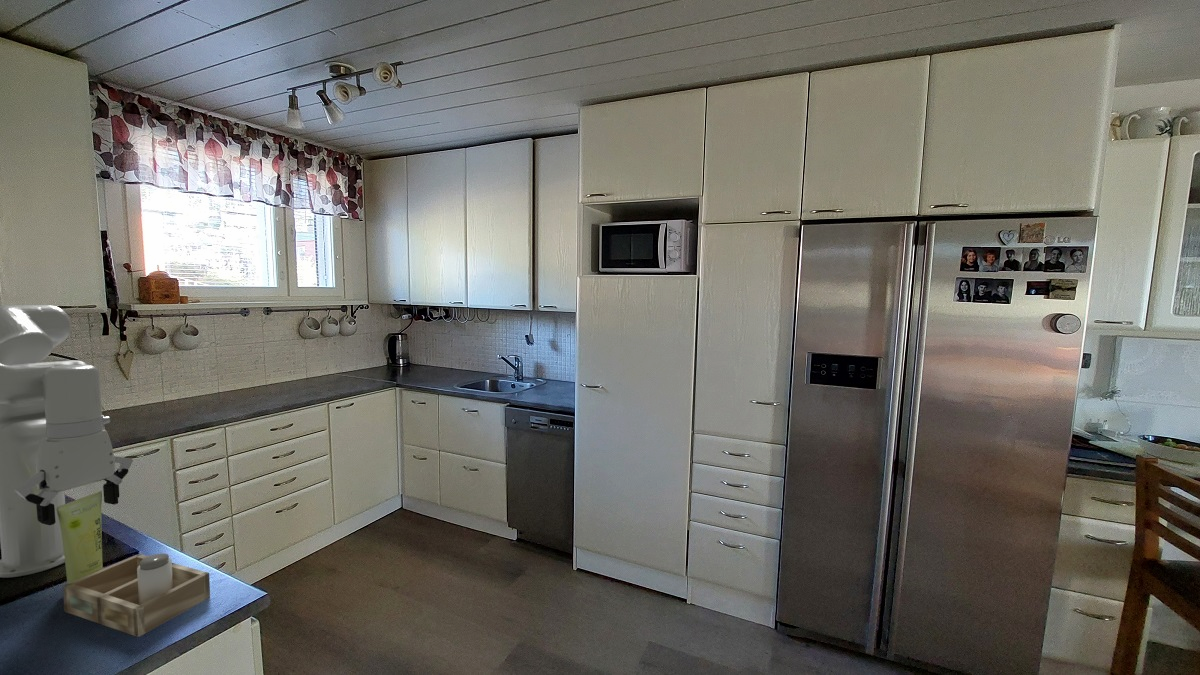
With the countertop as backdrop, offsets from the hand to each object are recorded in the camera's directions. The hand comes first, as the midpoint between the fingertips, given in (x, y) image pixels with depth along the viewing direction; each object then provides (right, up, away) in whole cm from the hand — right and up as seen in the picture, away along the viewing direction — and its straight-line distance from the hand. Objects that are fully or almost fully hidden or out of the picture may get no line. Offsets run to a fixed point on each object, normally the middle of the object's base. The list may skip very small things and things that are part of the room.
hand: (81, 513), depth 97 cm
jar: (+19, -17, -4) cm, 26 cm away
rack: (+14, -17, -3) cm, 23 cm away
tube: (-1, -17, +2) cm, 17 cm away
